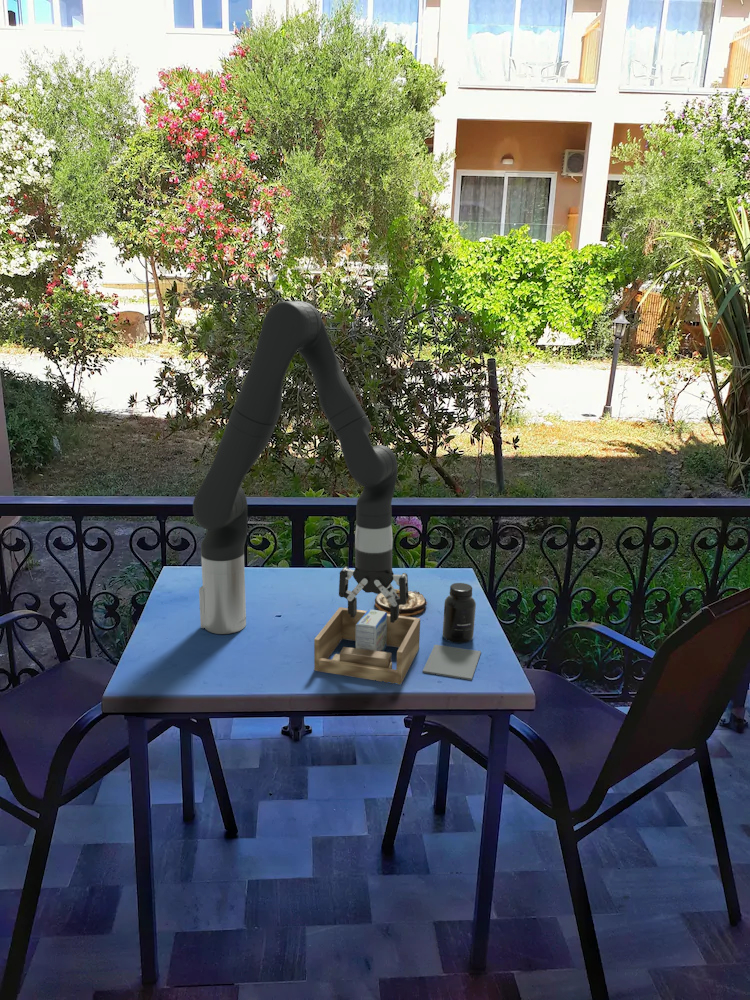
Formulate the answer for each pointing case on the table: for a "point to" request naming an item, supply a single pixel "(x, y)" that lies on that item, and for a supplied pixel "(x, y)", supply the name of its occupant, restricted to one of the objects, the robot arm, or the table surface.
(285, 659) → the table surface
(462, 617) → the supplement bottle
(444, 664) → the mat
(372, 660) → the wooden block
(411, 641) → the tan wooden open box
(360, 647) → the medicine box
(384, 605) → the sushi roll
